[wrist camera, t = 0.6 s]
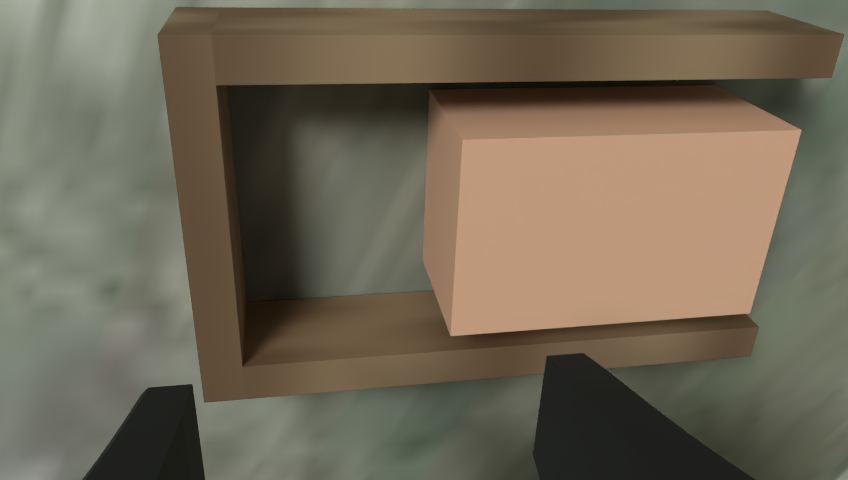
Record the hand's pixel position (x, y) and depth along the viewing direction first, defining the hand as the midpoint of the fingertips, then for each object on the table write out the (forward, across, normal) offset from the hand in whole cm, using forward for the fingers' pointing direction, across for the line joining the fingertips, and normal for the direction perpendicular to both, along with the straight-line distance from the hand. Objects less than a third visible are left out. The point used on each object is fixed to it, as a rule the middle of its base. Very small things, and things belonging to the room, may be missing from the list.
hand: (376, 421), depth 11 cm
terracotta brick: (+10, -6, 0) cm, 12 cm away
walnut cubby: (+9, -4, 0) cm, 10 cm away
